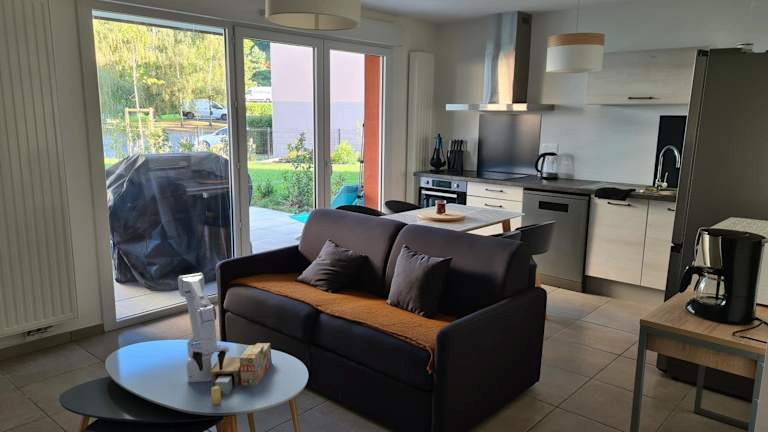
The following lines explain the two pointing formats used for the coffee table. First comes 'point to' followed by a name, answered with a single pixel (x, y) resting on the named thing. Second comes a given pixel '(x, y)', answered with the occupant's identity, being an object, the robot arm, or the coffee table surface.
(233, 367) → the open wooden box
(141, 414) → the coffee table surface
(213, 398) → the cube joystick
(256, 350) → the stack of blocks
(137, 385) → the coffee table surface
